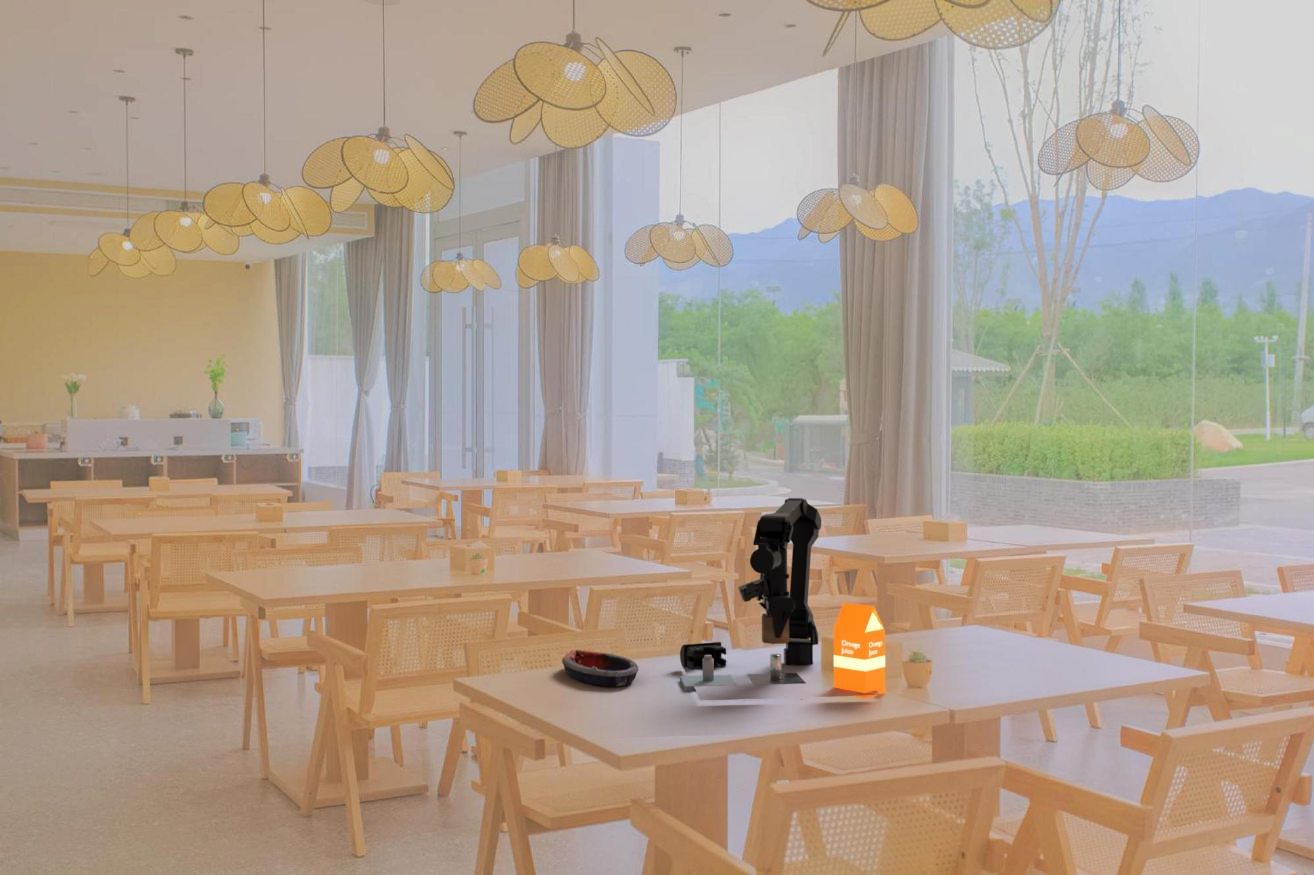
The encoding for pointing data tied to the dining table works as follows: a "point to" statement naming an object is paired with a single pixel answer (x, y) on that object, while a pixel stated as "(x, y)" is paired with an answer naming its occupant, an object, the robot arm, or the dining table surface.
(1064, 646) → the dining table surface
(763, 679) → the stand
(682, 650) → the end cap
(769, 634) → the sleeve
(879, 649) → the orange juice
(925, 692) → the dining table surface
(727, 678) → the grey peg base
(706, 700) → the dining table surface
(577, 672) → the dish
